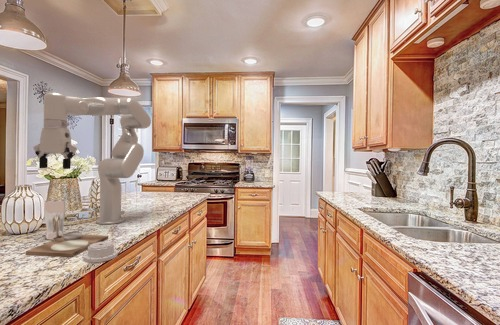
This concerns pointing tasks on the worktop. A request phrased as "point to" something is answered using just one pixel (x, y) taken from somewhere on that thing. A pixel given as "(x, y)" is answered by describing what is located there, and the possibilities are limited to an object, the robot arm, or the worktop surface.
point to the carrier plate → (67, 245)
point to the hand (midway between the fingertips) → (55, 168)
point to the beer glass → (54, 218)
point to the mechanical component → (100, 252)
